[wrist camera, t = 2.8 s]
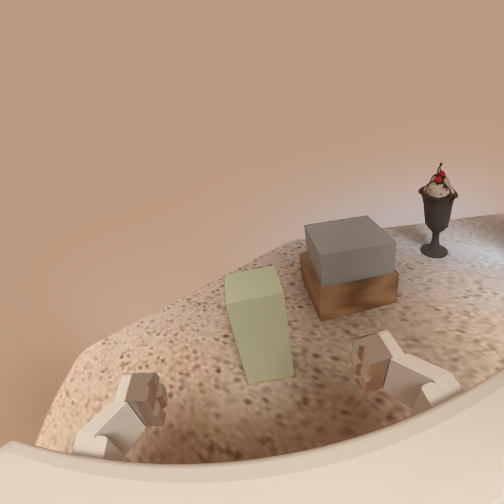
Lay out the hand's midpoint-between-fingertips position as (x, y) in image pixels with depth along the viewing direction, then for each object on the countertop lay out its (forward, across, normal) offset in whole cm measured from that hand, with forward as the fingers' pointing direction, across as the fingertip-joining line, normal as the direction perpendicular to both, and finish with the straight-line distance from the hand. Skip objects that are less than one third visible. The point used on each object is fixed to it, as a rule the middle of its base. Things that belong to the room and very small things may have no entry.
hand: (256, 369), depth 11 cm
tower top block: (+23, -13, +9) cm, 28 cm away
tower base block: (+23, -12, +14) cm, 29 cm away
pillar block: (+13, -1, +14) cm, 19 cm away
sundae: (+27, -31, +13) cm, 43 cm away
